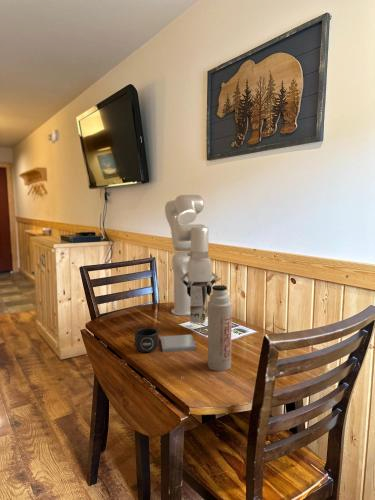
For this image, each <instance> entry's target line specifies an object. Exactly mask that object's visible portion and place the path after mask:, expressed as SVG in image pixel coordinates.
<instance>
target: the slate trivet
mask: <svg viewBox="0 0 375 500" xmlns="http://www.w3.org/2000/svg"><path fill="white" fill-rule="evenodd" d="M159 339H160V345H161V351H162V352H163V353H167V352H183V351H195V350H196V351H197V345H196V342H195V340H194V338H193V335H192V334H177V335H162V336H160V337H159Z"/></svg>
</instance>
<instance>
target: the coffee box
mask: <svg viewBox="0 0 375 500" xmlns="http://www.w3.org/2000/svg"><path fill="white" fill-rule="evenodd" d="M207 285H208V283H207V282H192V285H191V296H190V315H189V318H190V319H189V321H190V322H189V323H199V324H205V322H206V320H207V319H208V294H207Z"/></svg>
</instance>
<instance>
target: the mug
mask: <svg viewBox="0 0 375 500" xmlns="http://www.w3.org/2000/svg"><path fill="white" fill-rule="evenodd" d="M158 346H159V331H158V329H156V328H153V327H141V328H138V329H136V330H134V347H135V349H136V351H139V352H142V353H150V352H152V351H155V350H156V349H157V348H158Z"/></svg>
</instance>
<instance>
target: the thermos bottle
mask: <svg viewBox="0 0 375 500" xmlns="http://www.w3.org/2000/svg"><path fill="white" fill-rule="evenodd" d="M211 290H212V293H211V294H210V296H209V301H207V367H208V369H210V370H213V371H217V372H219V371H220V372H223V371H227V370H229V369H231V366H232V302H231V299H230V295H228V287H227V286H226V285H219V284H218V285H217V284H216V285H212V287H211Z"/></svg>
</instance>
